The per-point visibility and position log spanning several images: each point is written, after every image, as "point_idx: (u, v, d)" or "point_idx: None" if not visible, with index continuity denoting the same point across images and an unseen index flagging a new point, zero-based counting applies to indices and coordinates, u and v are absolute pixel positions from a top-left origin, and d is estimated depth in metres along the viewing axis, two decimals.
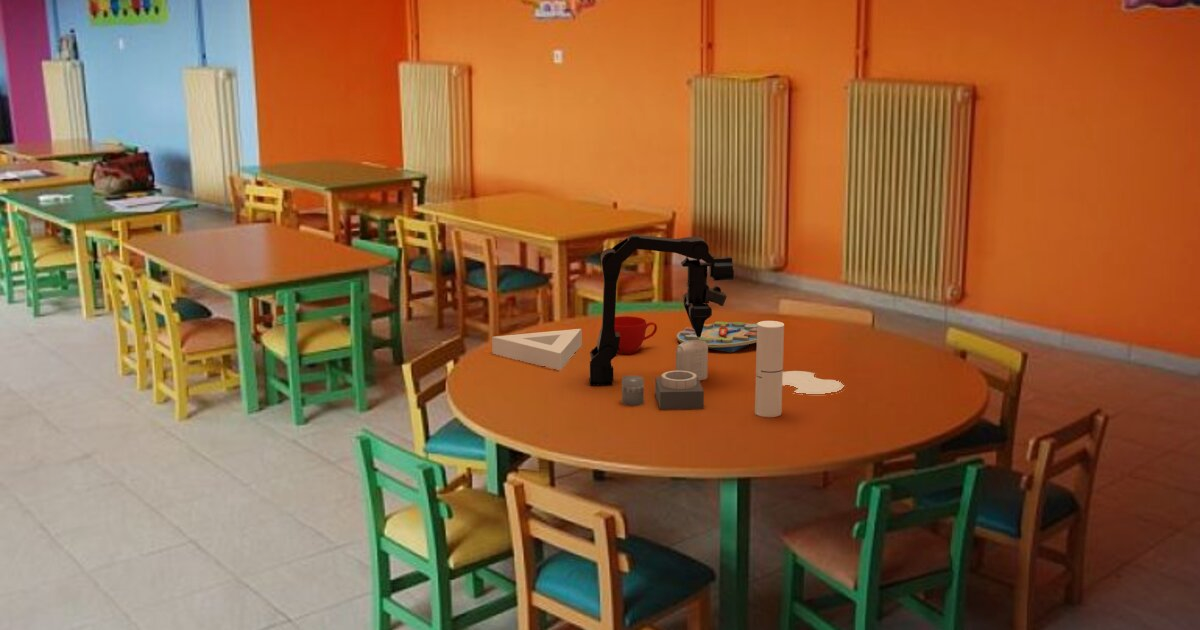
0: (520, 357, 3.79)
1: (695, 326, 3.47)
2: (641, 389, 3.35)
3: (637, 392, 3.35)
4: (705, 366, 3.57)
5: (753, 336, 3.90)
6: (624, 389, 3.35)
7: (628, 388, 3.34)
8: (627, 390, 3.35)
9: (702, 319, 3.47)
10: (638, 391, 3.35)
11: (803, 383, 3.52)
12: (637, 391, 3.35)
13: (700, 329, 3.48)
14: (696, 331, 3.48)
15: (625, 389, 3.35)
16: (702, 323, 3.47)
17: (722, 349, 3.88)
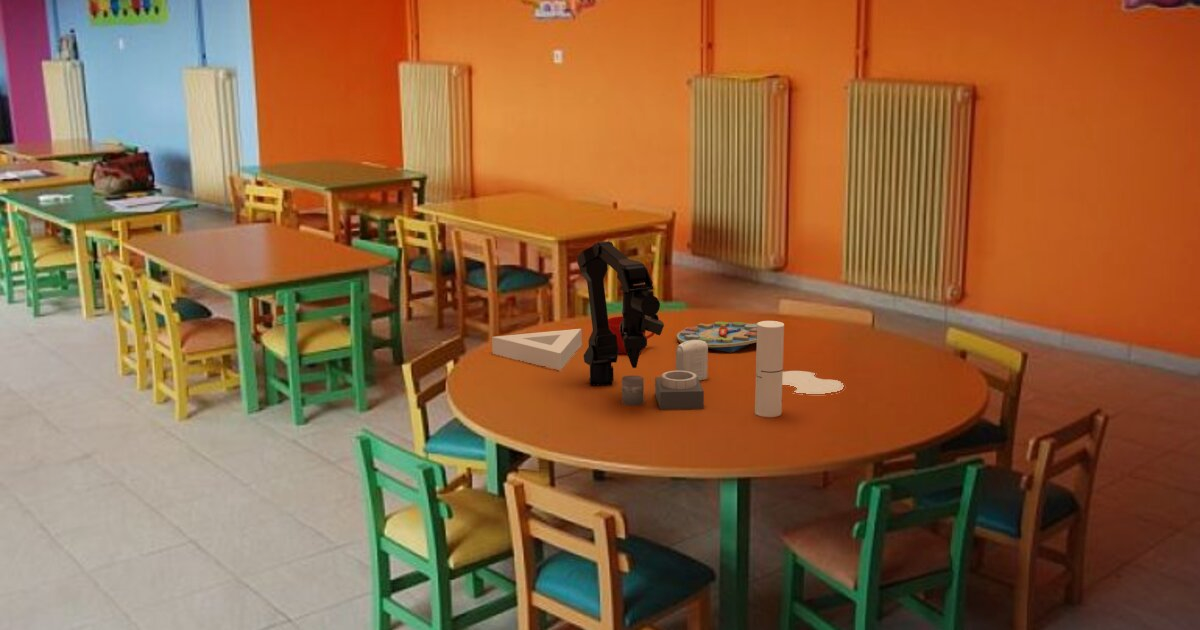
0: (520, 357, 3.79)
1: (630, 357, 3.29)
2: (641, 389, 3.35)
3: (637, 392, 3.35)
4: (705, 366, 3.57)
5: (753, 336, 3.90)
6: (624, 389, 3.35)
7: (628, 388, 3.34)
8: (627, 390, 3.35)
9: (637, 349, 3.28)
10: (639, 391, 3.35)
11: (803, 383, 3.52)
12: (637, 391, 3.35)
13: (635, 360, 3.30)
14: (631, 362, 3.30)
15: (625, 389, 3.35)
16: (637, 353, 3.29)
17: (722, 349, 3.88)
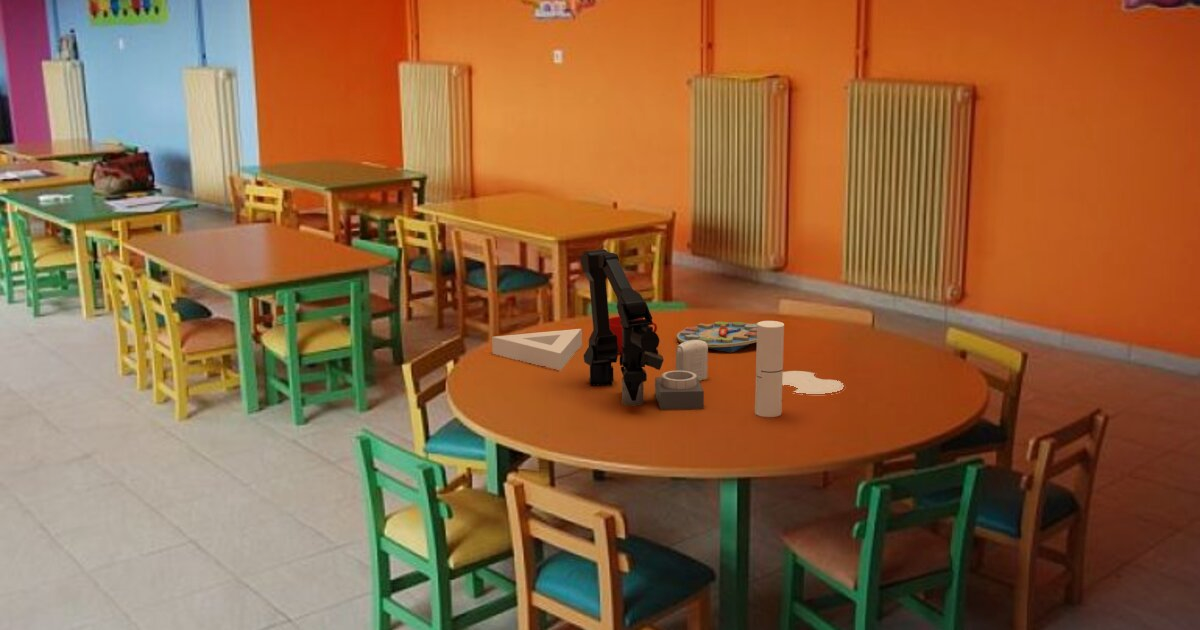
0: (520, 357, 3.79)
1: (629, 390, 3.33)
2: (641, 389, 3.35)
3: None
4: (705, 366, 3.57)
5: (753, 336, 3.90)
6: (624, 389, 3.35)
7: None
8: (627, 390, 3.35)
9: (637, 382, 3.32)
10: (638, 391, 3.35)
11: (803, 383, 3.52)
12: None
13: (635, 393, 3.33)
14: (631, 395, 3.33)
15: (625, 389, 3.35)
16: (637, 387, 3.32)
17: (722, 349, 3.88)
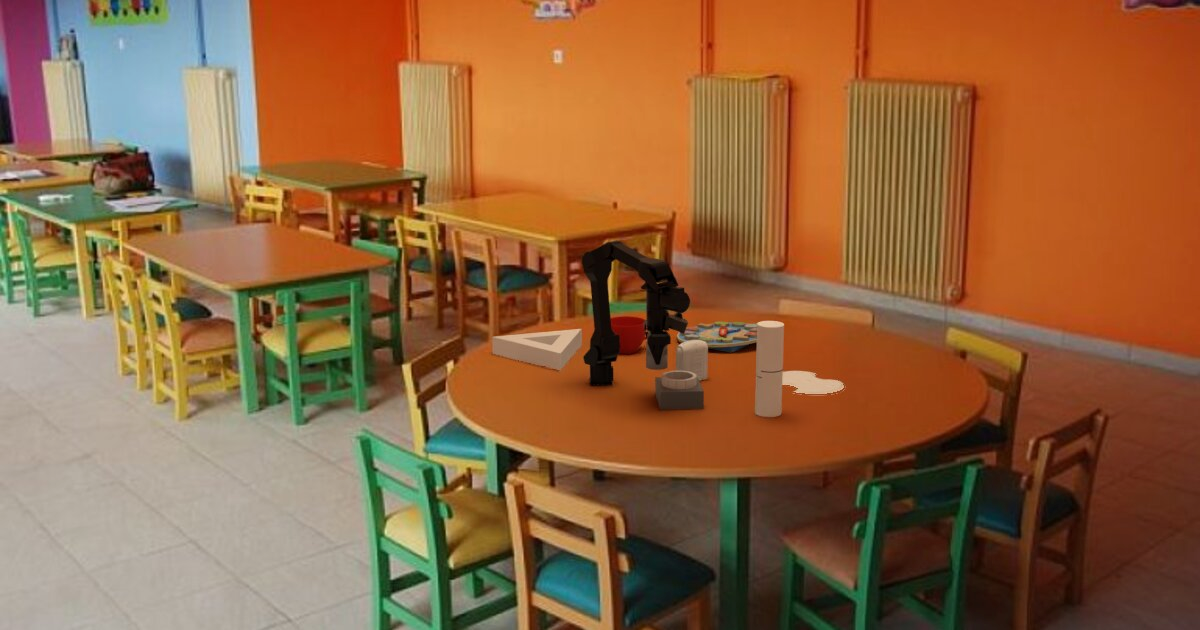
0: (520, 357, 3.79)
1: (653, 353, 3.30)
2: (665, 353, 3.33)
3: None
4: (705, 366, 3.57)
5: (753, 336, 3.90)
6: (648, 353, 3.33)
7: None
8: (651, 354, 3.32)
9: (661, 346, 3.29)
10: (662, 355, 3.32)
11: (803, 383, 3.52)
12: None
13: (659, 356, 3.31)
14: (655, 359, 3.31)
15: (649, 353, 3.33)
16: (661, 350, 3.30)
17: (722, 349, 3.88)
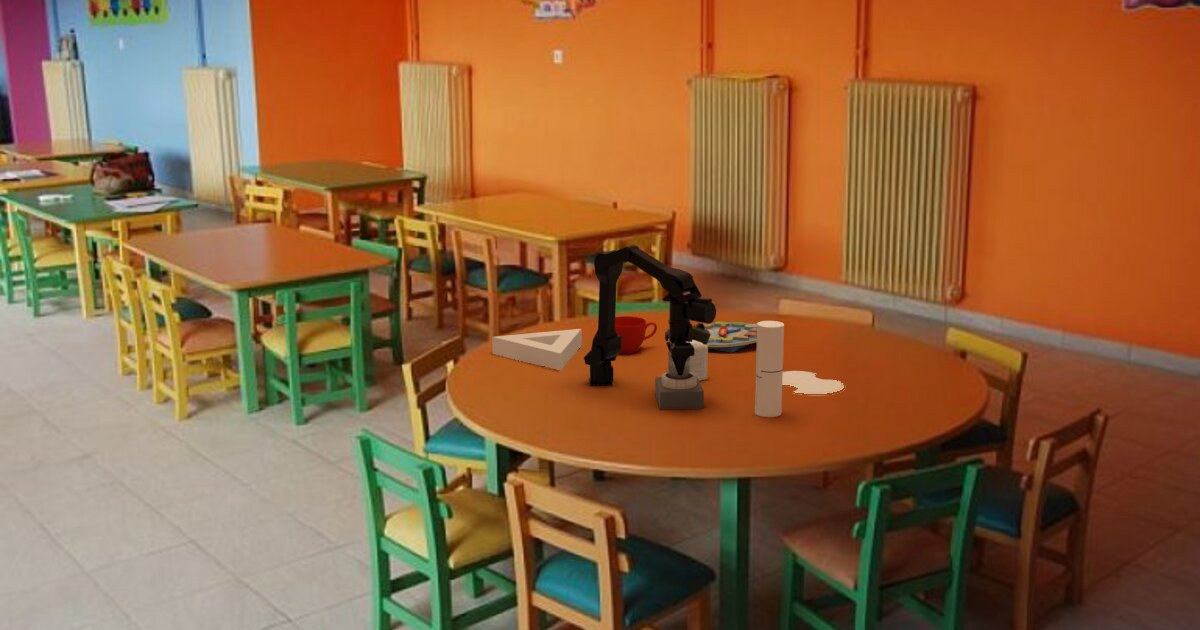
0: (520, 357, 3.79)
1: (676, 364, 3.32)
2: (688, 364, 3.34)
3: (684, 367, 3.34)
4: (705, 366, 3.57)
5: (753, 336, 3.90)
6: (671, 364, 3.34)
7: None
8: (674, 365, 3.34)
9: (684, 357, 3.31)
10: (685, 366, 3.34)
11: (803, 383, 3.52)
12: None
13: (682, 367, 3.32)
14: (677, 370, 3.32)
15: (672, 364, 3.34)
16: (684, 361, 3.31)
17: (722, 349, 3.88)
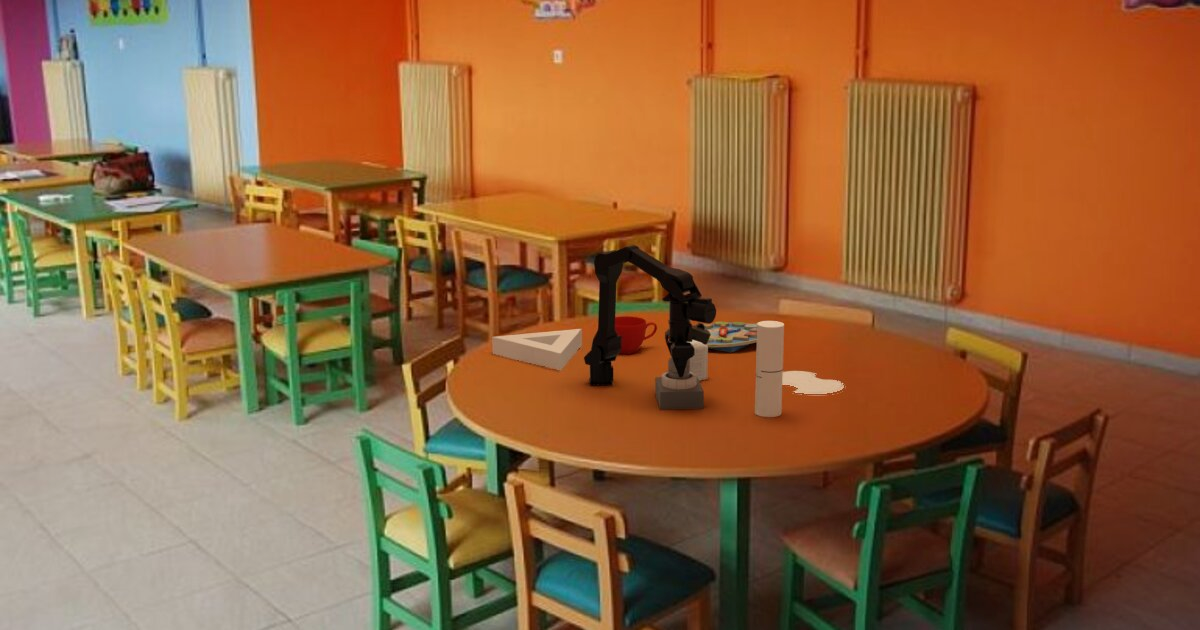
0: (520, 358, 3.79)
1: (677, 366, 3.30)
2: (687, 371, 3.35)
3: (684, 373, 3.34)
4: (705, 366, 3.57)
5: (753, 336, 3.90)
6: (670, 371, 3.35)
7: (675, 370, 3.34)
8: (674, 372, 3.34)
9: (684, 359, 3.29)
10: (685, 372, 3.34)
11: (803, 383, 3.52)
12: (684, 372, 3.34)
13: (682, 369, 3.31)
14: (678, 371, 3.31)
15: (672, 371, 3.34)
16: (684, 363, 3.30)
17: (722, 349, 3.88)
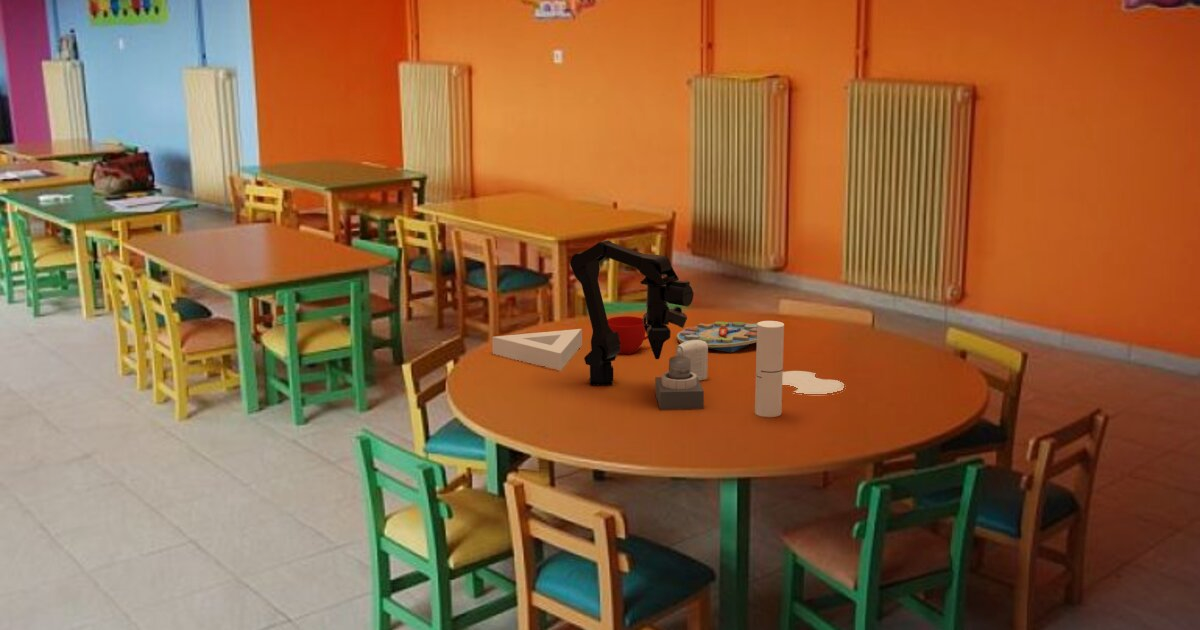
0: (520, 357, 3.78)
1: (653, 348, 3.36)
2: (688, 371, 3.34)
3: (684, 374, 3.34)
4: (705, 366, 3.57)
5: (753, 336, 3.90)
6: (671, 370, 3.34)
7: (676, 370, 3.33)
8: (674, 372, 3.34)
9: (661, 341, 3.35)
10: (686, 373, 3.34)
11: (803, 383, 3.52)
12: (684, 373, 3.34)
13: (659, 351, 3.36)
14: (654, 353, 3.37)
15: (672, 370, 3.34)
16: (661, 345, 3.35)
17: (722, 349, 3.88)
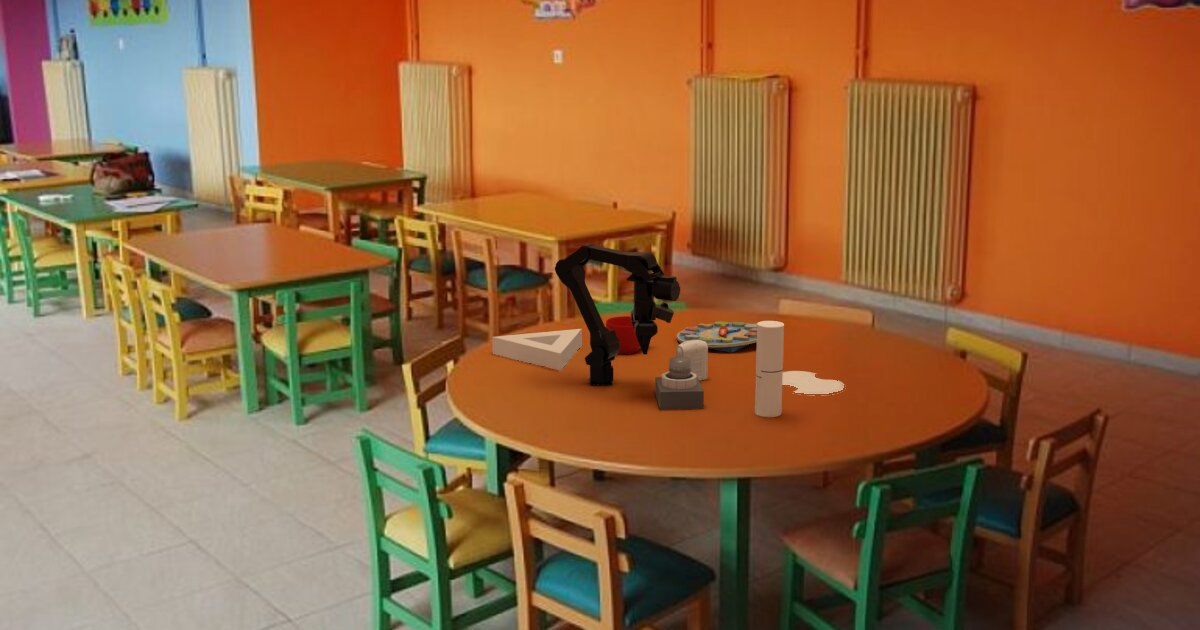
0: (520, 358, 3.78)
1: (641, 344, 3.40)
2: (688, 370, 3.35)
3: (684, 373, 3.34)
4: (705, 366, 3.57)
5: (753, 336, 3.90)
6: (671, 370, 3.35)
7: (676, 370, 3.34)
8: (674, 371, 3.34)
9: (648, 336, 3.39)
10: (686, 372, 3.34)
11: (803, 383, 3.52)
12: (684, 372, 3.34)
13: (646, 347, 3.40)
14: (642, 349, 3.40)
15: (672, 370, 3.35)
16: (648, 340, 3.39)
17: (722, 349, 3.88)
